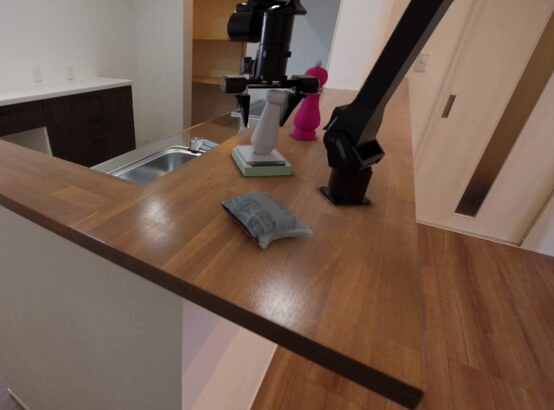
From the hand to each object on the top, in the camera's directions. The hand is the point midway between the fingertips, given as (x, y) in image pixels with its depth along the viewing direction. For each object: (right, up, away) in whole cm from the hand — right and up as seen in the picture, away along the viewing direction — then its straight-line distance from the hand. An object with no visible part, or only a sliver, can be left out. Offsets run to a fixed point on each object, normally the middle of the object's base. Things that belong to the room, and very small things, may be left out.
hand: (263, 126), depth 64 cm
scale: (0, -8, +3) cm, 8 cm away
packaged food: (-5, -20, -19) cm, 28 cm away
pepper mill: (+17, +3, +22) cm, 28 cm away
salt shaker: (0, -5, +3) cm, 6 cm away
